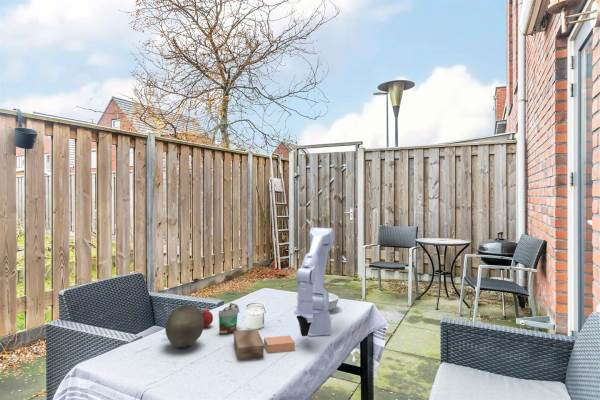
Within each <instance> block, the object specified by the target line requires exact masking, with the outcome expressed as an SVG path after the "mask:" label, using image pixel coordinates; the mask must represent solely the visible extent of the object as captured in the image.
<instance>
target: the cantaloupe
mask: <svg viewBox="0 0 600 400" xmlns="http://www.w3.org/2000/svg"><path fill="white" fill-rule="evenodd" d="M202 312H203V311H202V310H201V309H199V307H197V306H195V305H190V304H189V305H188V304H185V305H180V306H178V307H176V308H175V309H173V310H172V311H171V313H170V314H169V315H168V318H167V319H166V322H165V329H164V330H165V334H166V335H165V336H166V337H167V339H168V341H169V343H170V344H172V345H173V346H174V347H176V348H187V347H189V346H192V345H193V344H194V343H195V342H197V340H198V339H199V338H201V336H202V334H203V330H204V328H205V327H204V318H203V315H202Z"/></svg>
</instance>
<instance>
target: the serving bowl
mask: <svg viewBox="0 0 600 400" xmlns="http://www.w3.org/2000/svg"><path fill="white" fill-rule="evenodd" d="M328 294H329V307H328V310H327V311H329V312H330V311H331V310H333V309H334V308H336V306H337V304H338V301H339V296H338V295H337V294H334V293H331V292H328ZM313 295H314V294H313ZM319 296H323V295H319ZM296 299H297V301H298V294H297V295H296Z"/></svg>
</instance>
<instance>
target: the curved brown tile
mask: <svg viewBox="0 0 600 400" xmlns="http://www.w3.org/2000/svg"><path fill="white" fill-rule="evenodd" d="M233 348H234V351H235V354H236V359H237V360H246V359H247V360H249V359H256V358H264V349H265V345H264V340H263V339H262V337H261V334H260V332H259V330H258V329H255V328H254V329H252V328H251V329H244V330H243V329H242V330H241V329H240V330H236V331H234V333H233Z"/></svg>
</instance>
